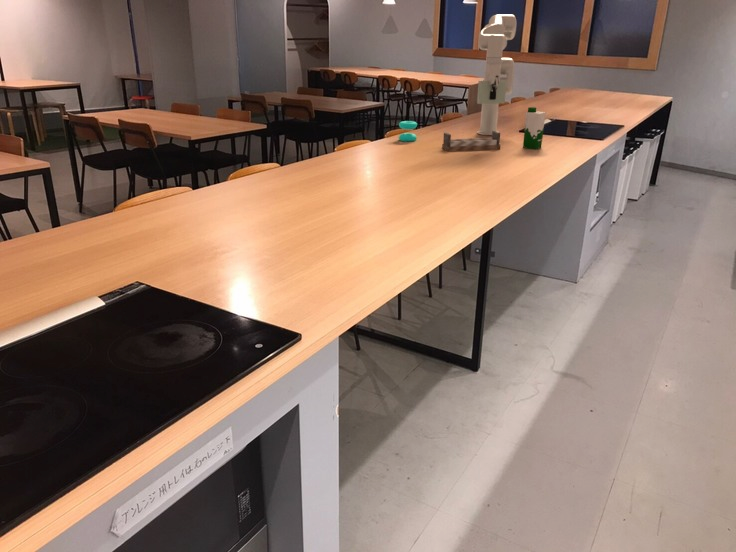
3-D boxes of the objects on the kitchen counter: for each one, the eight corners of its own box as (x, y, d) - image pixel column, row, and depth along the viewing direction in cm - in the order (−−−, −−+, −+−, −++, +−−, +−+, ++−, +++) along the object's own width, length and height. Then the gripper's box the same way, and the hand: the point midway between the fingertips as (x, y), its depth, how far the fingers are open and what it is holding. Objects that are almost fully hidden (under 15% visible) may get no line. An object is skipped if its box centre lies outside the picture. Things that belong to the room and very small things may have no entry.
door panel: (479, 103, 297) (480, 81, 293) (476, 103, 299) (478, 80, 295) (504, 103, 299) (506, 80, 295) (502, 102, 302) (504, 80, 298)
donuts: (398, 123, 314) (399, 120, 324) (398, 141, 318) (399, 138, 328) (417, 123, 314) (417, 120, 323) (416, 142, 317) (416, 138, 327)
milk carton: (527, 145, 308) (531, 106, 300) (543, 147, 303) (548, 107, 295) (520, 148, 301) (524, 108, 293) (537, 150, 296) (541, 109, 288)
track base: (448, 151, 293) (448, 135, 290) (442, 147, 302) (442, 132, 299) (500, 149, 298) (501, 133, 295) (492, 145, 307) (494, 130, 304)
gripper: (480, 60, 298) (478, 97, 305) (493, 61, 284) (490, 100, 290) (494, 60, 300) (491, 97, 307) (507, 61, 285) (504, 100, 292)
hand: (491, 98), depth 299 cm, fingers closed on door panel, 3 cm apart
